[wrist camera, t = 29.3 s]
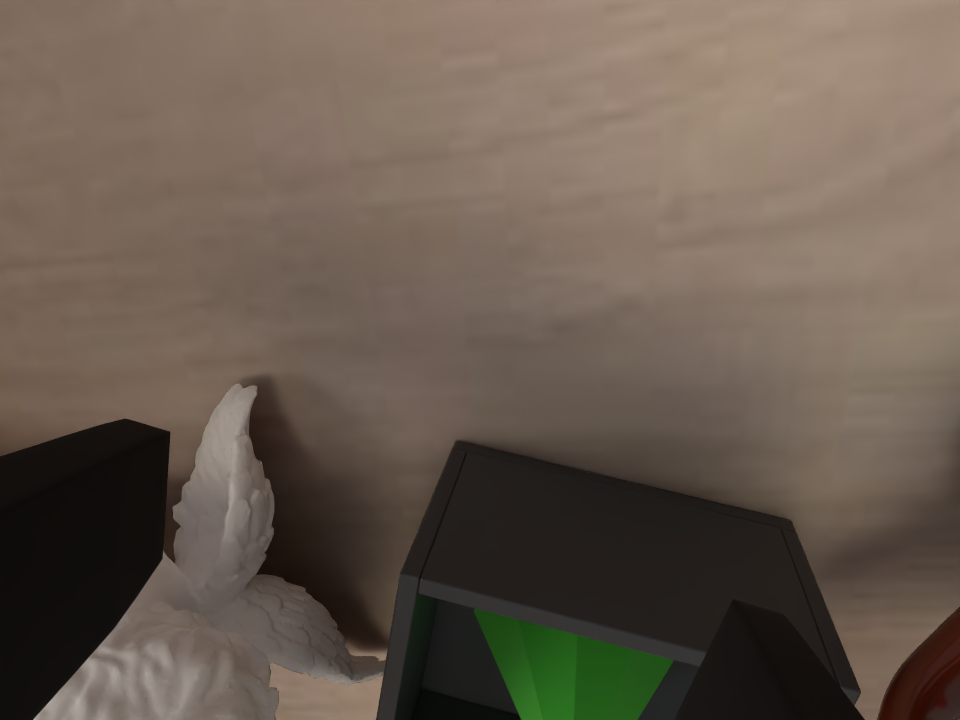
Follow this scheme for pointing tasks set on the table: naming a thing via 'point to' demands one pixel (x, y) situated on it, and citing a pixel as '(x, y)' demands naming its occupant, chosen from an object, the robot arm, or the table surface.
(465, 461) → the bin
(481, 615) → the gemstone
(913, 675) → the mug
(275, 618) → the angel figurine
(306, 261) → the table surface
